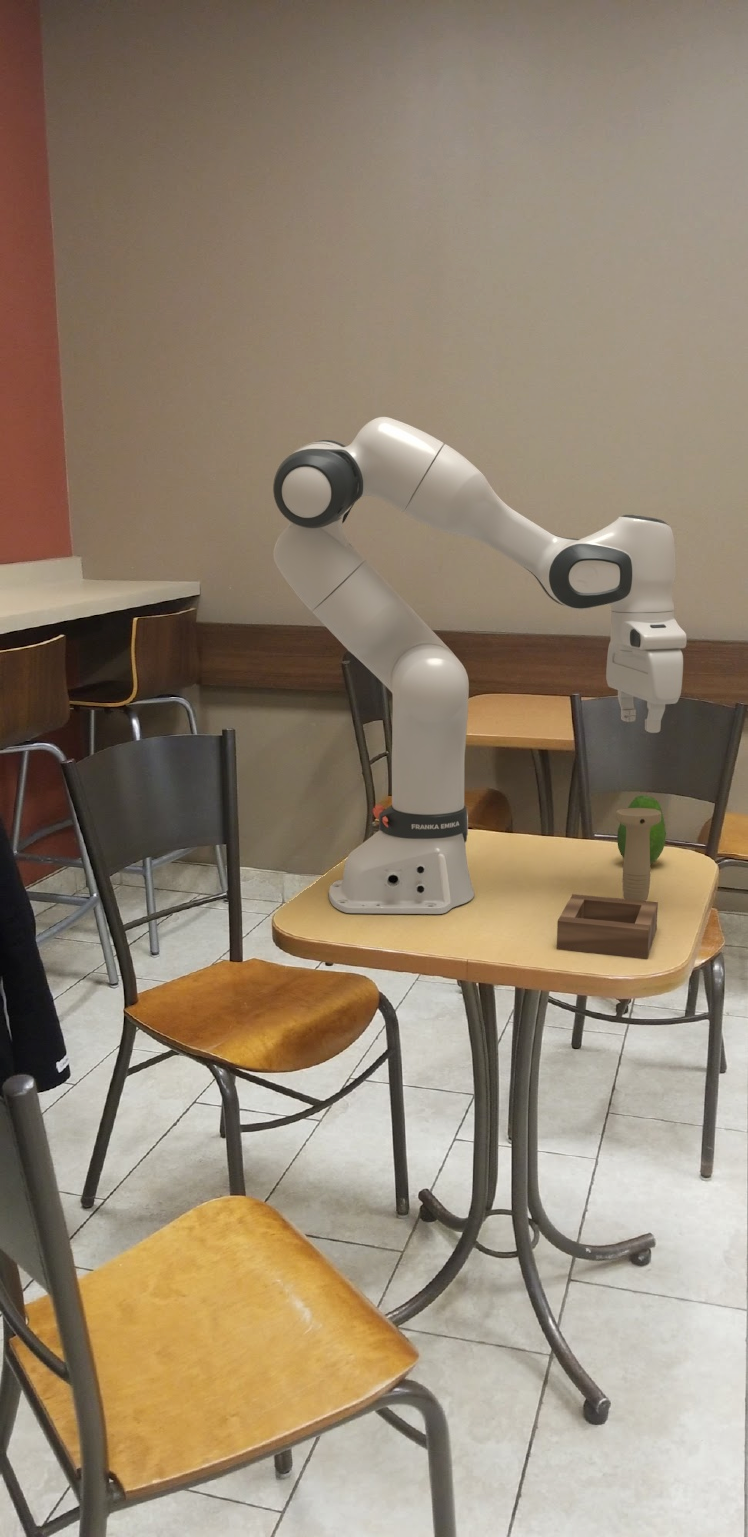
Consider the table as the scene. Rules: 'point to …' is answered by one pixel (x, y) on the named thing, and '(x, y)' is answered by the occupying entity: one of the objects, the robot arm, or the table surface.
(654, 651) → the robot arm
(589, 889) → the table surface
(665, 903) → the table surface
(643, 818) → the handle
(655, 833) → the fruit
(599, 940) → the socket board
